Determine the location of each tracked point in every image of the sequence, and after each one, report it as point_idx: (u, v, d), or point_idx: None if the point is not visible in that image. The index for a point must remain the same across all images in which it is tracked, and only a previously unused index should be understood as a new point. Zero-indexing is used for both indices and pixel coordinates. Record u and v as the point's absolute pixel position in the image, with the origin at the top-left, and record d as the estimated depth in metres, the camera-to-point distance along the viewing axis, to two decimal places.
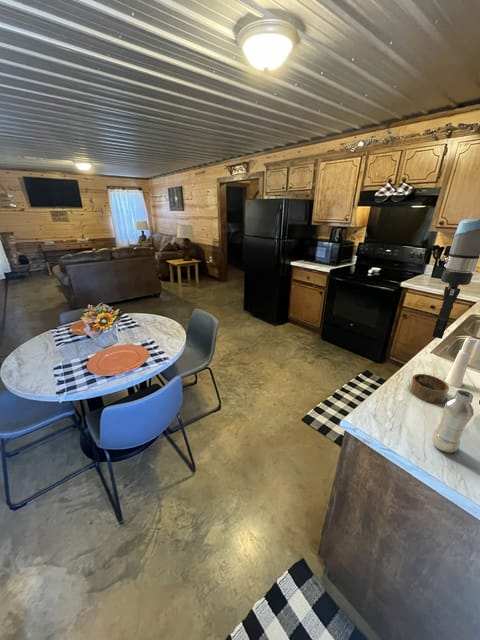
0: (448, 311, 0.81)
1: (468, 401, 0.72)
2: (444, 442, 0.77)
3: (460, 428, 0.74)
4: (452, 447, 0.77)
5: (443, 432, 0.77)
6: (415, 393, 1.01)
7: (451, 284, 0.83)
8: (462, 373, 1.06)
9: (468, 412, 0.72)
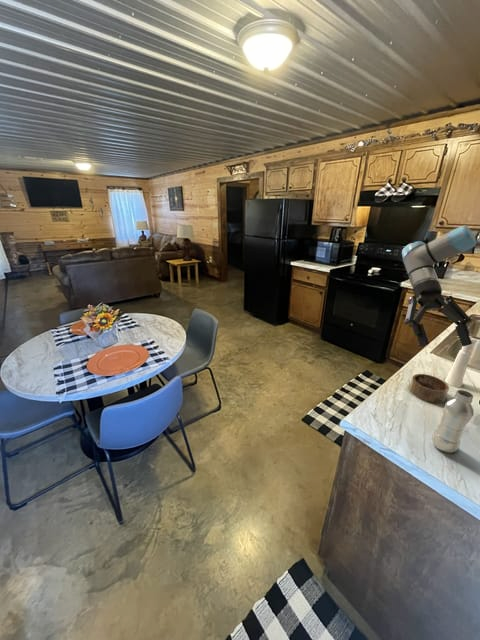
0: (409, 314, 0.82)
1: (468, 401, 0.72)
2: (444, 442, 0.77)
3: (460, 428, 0.74)
4: (452, 447, 0.77)
5: (443, 432, 0.77)
6: (415, 393, 1.01)
7: (416, 295, 0.87)
8: (462, 373, 1.06)
9: (468, 412, 0.72)
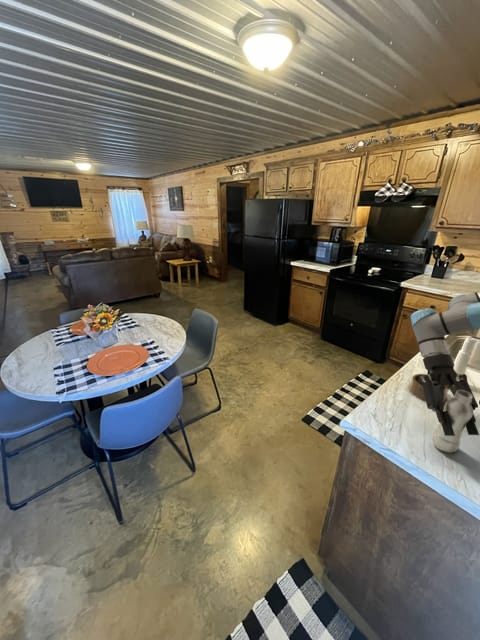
0: (430, 399, 0.77)
1: (468, 401, 0.72)
2: (444, 442, 0.77)
3: (460, 428, 0.74)
4: (452, 447, 0.77)
5: (443, 432, 0.77)
6: (415, 393, 1.01)
7: (427, 369, 0.82)
8: (462, 373, 1.06)
9: (467, 412, 0.72)
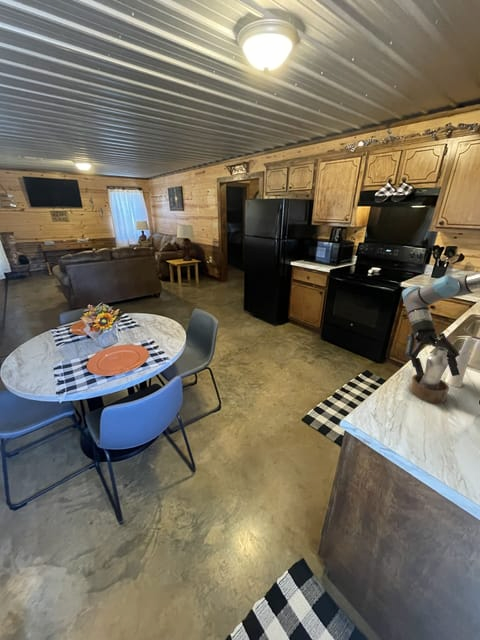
0: (408, 349, 1.00)
1: (443, 354, 0.95)
2: None
3: (438, 376, 0.97)
4: None
5: (426, 380, 1.00)
6: (415, 393, 1.01)
7: (414, 332, 1.04)
8: (462, 373, 1.06)
9: (443, 362, 0.95)
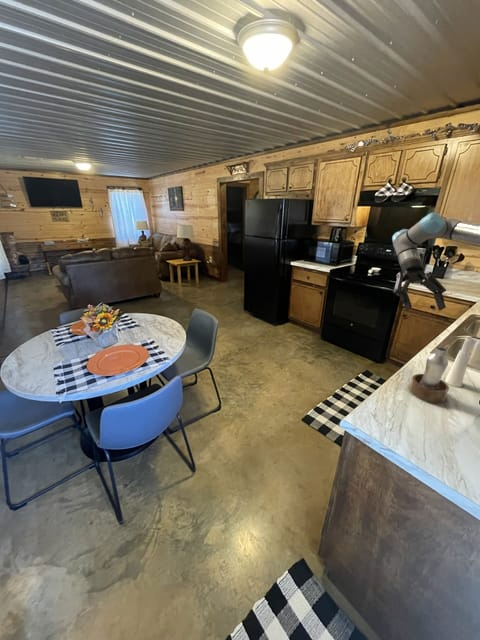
0: (397, 285, 1.04)
1: (443, 354, 0.95)
2: None
3: (438, 376, 0.97)
4: None
5: (426, 380, 1.00)
6: (415, 393, 1.01)
7: (403, 272, 1.09)
8: (462, 373, 1.06)
9: (443, 362, 0.95)
